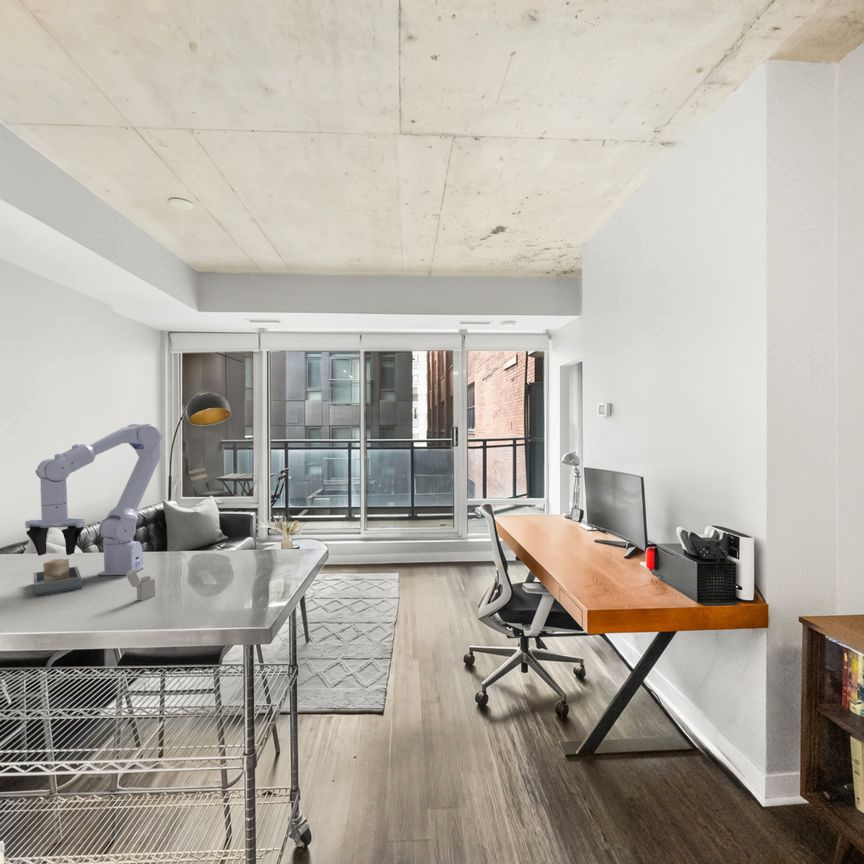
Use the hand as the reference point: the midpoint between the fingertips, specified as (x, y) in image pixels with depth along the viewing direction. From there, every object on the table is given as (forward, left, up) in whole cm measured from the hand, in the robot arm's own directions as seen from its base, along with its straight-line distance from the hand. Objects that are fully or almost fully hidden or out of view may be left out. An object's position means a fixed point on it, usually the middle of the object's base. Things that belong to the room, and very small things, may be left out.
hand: (56, 554), depth 145 cm
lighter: (-29, +12, -9) cm, 33 cm away
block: (0, 0, -8) cm, 8 cm away
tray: (0, 0, -9) cm, 9 cm away
